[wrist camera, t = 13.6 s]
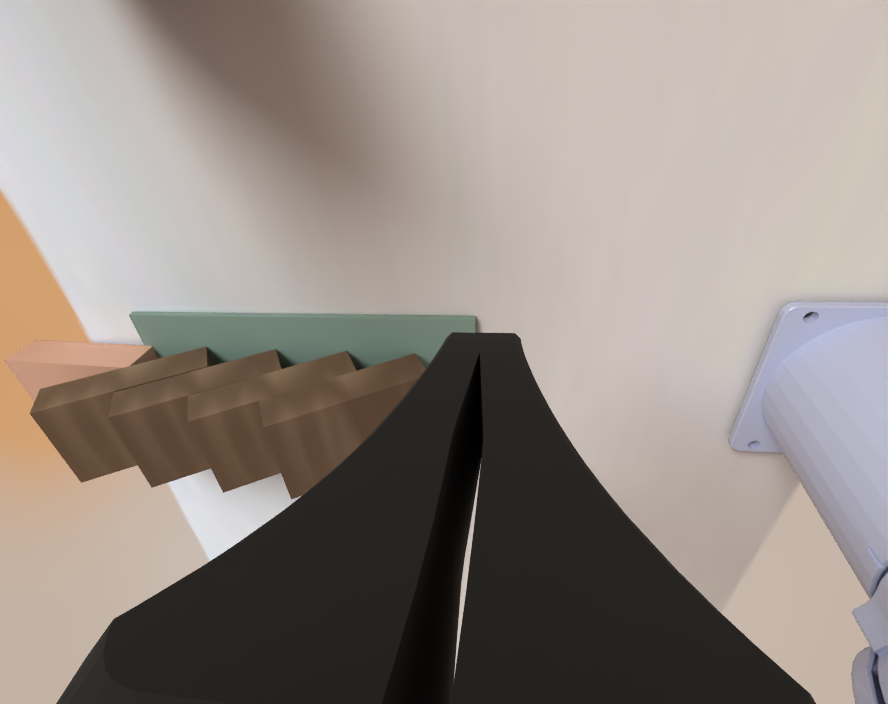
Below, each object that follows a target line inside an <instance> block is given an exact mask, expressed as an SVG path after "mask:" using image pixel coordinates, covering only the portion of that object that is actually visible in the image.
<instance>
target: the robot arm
mask: <svg viewBox="0 0 888 704" xmlns="http://www.w3.org/2000/svg"><path fill="white" fill-rule="evenodd" d="M809 312H813V313H812V315H811V316H809V317H806V318H803V317H804V316H805V315H806V314H807V313H809ZM752 441H754V442H752ZM728 442H729V444H730V446H731V447H732V449H734V450H737V451H753V452H774V453H784V455H785V457H786V458H787V460H788V462H789V463H790V465H791V467H792V469H793V470H794V472H795V474H796V475H797V477H798V479H799V480H800V482H801V484H802V485H803V487H804V489H805V490H806V492H807V494H808V495H809V497H810V499H811V501H812V502H813V504H814V506H815V507H816V509H817V511H818V512H819V514H820V516H821V517H822V519H823V521H824V522H825V524H826V526H827V527H828V529H829V531H830V533H831V534H832V536H833V538H834V539H835V541H836V542H837V544H838V546H839V548H840V549H841V551H842V553H843V554H844V556H845V558H846V559H847V561H848V563H849V565H850V566H851V568H852V570H853V571H854V573H855V574H856V576H857V578H858V580H859V581H860V583H861V585H862V586H863V588H864V590H865V591H866V593H867V595H868V597H869V598H870V600H869V601H867V602H866V603H865V604H863V605H861V606H860V607H858V608H856V609H854V610H853V611H852V613H853V615H854V617H855V619H856V621H857V623H858V625H859V626H860V628H861V630H862V632H863V633H864V635H865V637H866V639H867V641H868V642H869V644H870V647H867V648H865V649H863V650H862V651H861V652H859V653H858V654H857V655H856V657H855V659H854V661H853V666H852V673H851V675H852V686H853V693H854V697H855V704H888V302H791V303H789V304H787V305H785V306H784V307H783V308H781V310H780V311H779V313H778V316H777V318H776V321H775V323H774V326H773V328H772V331H771V333H770V336H769V338H768V341H767V343H766V346H765V348H764V351H763V353H762V356H761V358H760V361H759V363H758V366H757V368H756V371H755V373H754V376H753V378H752V381H751V383H750V386H749V389H748V391H747V394H746V396H745V399H744V401H743V404H742V406H741V409H740V411H739V414H738V416H737V419H736V421H735V424H734V426H733V429H732V431H731V434H730V436H729V439H728ZM481 458H482V459H481ZM480 464H481V468H480ZM479 470H480V478H479V488H478V497H477V506H476V515H475V524H474V533H473V541H472V549H471V557H470V565H469V573H468V581H467V590H466V597H465V605H464V612H463V619H462V627H461V634H460V641H459V649H458V656H457V664H456V671H455V678H454V670H455V657H456V643H457V630H458V617H459V605H460V592H461V580H462V573H463V565H464V557H465V552H466V546H467V540H468V534H469V528H470V522H471V517H472V511H473V505H474V499H475V493H476V487H477V482H478V476H479ZM453 684H454V685H453ZM57 704H816V703H815V701H814V699H813V698H812V696H811V695H810V693H809V692H807V691H806V690H805V689H804V688H803V687H802V686H801V685H800V684H798V683H797V682H796V681H795V680H794V679H792V677H790V676H789V675H788V674H787V673H786V672H785V671H784V670H783V669H781V668H780V667H779V666H778V665H777V664H776V663H775V662H774V661H772V660H771V659H770V658H769V657H768V656H767V655H766V654H765V653H763V652H762V651H761V650H760V649H759V648H758V647H757V646H756V645H754V644H753V643H752V642H751V641H750V640H749V639H748V638H747V637H746V636H745V635H744V634H743V633H742V632H740V631H739V630H738V629H737V628H736V627H735V626H734V625H733V624H732V623H731V622H730V621H729V620H728V619H727V618H725V617H724V616H723V615H722V614H721V613H720V612H719V611H718V610H717V609H716V608H715V607H714V606H713V605H712V604H711V603H710V602H709V601H708V600H707V599H706V598H705V597H704V596H703V595H702V594H701V593H700V592H699V591H698V590H697V589H696V588H695V587H694V586H693V585H692V584H691V583H690V582H689V581H688V580H687V579H686V578H684V577H683V576H682V575H681V574H680V573H679V572H678V571H677V570H676V569H675V567H674V566H673V565H672V564H671V563H670V562H669V561H668V560H667V559H666V558H665V557H664V556H663V554H662V553H661V552H660V551H659V550H658V549H657V548H656V547H655V546H654V545H653V544H652V542H651V541H650V540H649V539H648V538H647V537H646V536H645V535H644V534H643V533H642V532H641V531H640V529H639V528H638V527H637V526H636V525H635V524H634V523H633V522H632V521H631V520H630V519H629V517H628V516H627V515H626V514H625V513H624V512H623V511H622V509H621V508H620V507H619V506H618V504H617V503H616V502H615V501H614V500H613V498H612V497H611V496H610V495H609V493H608V492H607V491H606V490H605V488H604V487H603V486H602V485H601V483H600V482H599V481H598V479H597V478H596V477H595V476H594V474H593V473H592V472H591V470H590V469H589V468H588V466H587V465H586V464H585V462H584V461H583V459H582V458H581V457H580V455H579V454H578V452H577V451H576V449H575V448H574V446H573V445H572V443H571V442H570V440H569V439H568V437H567V436H566V434H565V432H564V431H563V429H562V428H561V426H560V425H559V423H558V421H557V420H556V418H555V416H554V414H553V413H552V411H551V409H550V408H549V406H548V404H547V402H546V400H545V398H544V396H543V394H542V393H541V391H540V389H539V387H538V385H537V383H536V381H535V379H534V377H533V374H532V372H531V370H530V367H529V365H528V363H527V360H526V357H525V354H524V351H523V348H522V344H521V339H520V338H519V337H518V336H517V335H516V334H515V333H465V332H452V333H451V334H450V335H449V336H448V337H447V338H446V339H445V341H444V343H443V344H442V346H441V347H440V349H439V351H438V352H437V354H436V355H435V356H434V358H433V359H432V361H431V362H430V364H429V365H428V366H427V368H426V369H425V371H424V372H423V373H422V375H421V376H420V377H419V378H418V380H417V381H416V382H415V384H414V385H413V386H412V387H411V389H410V390H409V391H408V392H407V394H406V395H405V396H404V397H403V399H402V400H401V401H400V402H399V403H398V404H397V406H396V407H395V408H394V409H393V410H392V411H391V412H390V413H389V415H388V416H387V417H386V418H385V419H384V420H383V421H382V422H381V423H380V425H379V426H378V427H377V428H376V429H375V430H374V431H373V432H372V433H371V434H370V435H369V436H368V437H367V438H366V439H365V440H364V441H363V442H362V443H361V444H360V445H359V446H358V447H357V448H356V449H355V450H354V451H353V452H352V453H351V454H350V455H349V456H348V457H347V458H346V459H344V460H343V461H342V462H341V463H340V464H339V465H338V466H337V467H336V468H335V469H334V470H332V471H331V472H330V473H329V474H328V475H326V476H325V477H324V478H323V479H322V480H321V481H319V482H318V483H317V484H316V485H315V486H313V487H312V488H311V489H310V490H309V491H307V492H306V493H305V494H304V495H303V496H301V497H300V498H299V499H298V500H296V501H295V502H294V503H293V504H291V505H290V506H289V507H287V508H286V509H285V510H283V511H282V512H281V513H279V514H278V515H277V516H275V517H274V518H272V519H271V520H270V521H268V522H267V523H265V524H264V525H263V526H261V527H260V528H258V529H257V530H256V531H254V532H253V533H251V534H250V535H249V536H247V537H246V538H244V539H243V540H241V541H240V542H239V543H237V544H236V545H234V546H233V547H231V548H230V549H228V550H227V551H225V552H224V553H222V554H221V555H219V556H218V557H216V558H215V559H213V560H212V561H210V562H208V563H207V564H205V565H204V566H202V567H201V568H199V569H197V570H196V571H194V572H192V573H191V574H189V575H187V576H186V577H184V578H182V579H181V580H179V581H177V582H176V583H174V584H172V585H171V586H169V587H168V588H166V589H164V590H162V591H161V592H159V593H158V594H156V595H154V596H153V597H151V598H149V599H147V600H146V601H144V602H143V603H141V604H139V605H138V606H136V607H134V608H132V609H131V610H129V611H127V612H126V613H124V614H122V615H120V616H119V617H117V618H115V619H114V620H113V621H112V622H111V624H110V625H109V626H108V628H107V629H106V631H105V632H104V633H103V635H102V636H101V638H100V639H99V641H98V642H97V643H96V645H95V646H94V647H93V649H92V650H91V652H90V653H89V654H88V656H87V657H86V659H85V660H84V662H83V663H82V665H81V666H80V668H79V670H78V671H77V673H76V674H75V676H74V677H73V679H72V680H71V682H70V683H69V685H68V686H67V688H66V690H65V691H64V693H63V694H62V696H61V697H60V699H59V700H58V702H57Z"/></svg>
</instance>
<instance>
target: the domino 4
mask: <svg viewBox="0 0 888 704" xmlns="http://www.w3.org/2000/svg"><path fill="white" fill-rule="evenodd" d="M424 371H425V367H424V366H423V364H422V363H421V361H420V360H419V358H418V357H417V356H416V354H415V353H414V354H411V355H407V356H404V357H401V358H397V359H394V360H391V361H387V362H384V363H381V364H377V365H374V366H371V367H367V368H364V369H361V370H358V371H354V372H351V373H348V374H344V375H341V376H338V377H334V378H331V379H328V380H324V381H321V382H318V383H314V384H311V385H308V386H304V387H301V388H298V389H294V390H291V391H288V392H285V393H281V394H278V395H275V396H271V397H268V398H265V399H261V400H259V405H260V411H261V417H262V422H263V428H264V430H265V433H266V435H267V438H268V440H269V443H270V446H271V448H272V451H273V453H274V456H275V458H276V461H277V463H278V466H279V469H280V471H281V474H282V476H283V479H284V481H285V484H286V486H287V489H288V492H289V494H290V497H291V499H294V498H296V497H299V496H302V495H304V494H305V493H306V492H307V491H309V490H310V489H311V488H312V487H313V486H315V485H316V484H317V483H318V482H319V481H321V480H322V479H323V478H324V477H325V476H326V475H328V474H329V473H330V472H331V471H332V470H334V469H335V468H336V467H337V466H338V465H339V464H340V463H341V462H342V461H343V460H344V459H346V458H347V457H348V456H349V455H350V454H351V453H352V452H353V451H354V450H355V449H356V448H357V447H358V446H359V445H360V444H361V443H362V442H363V441H364V440H365V439H366V438H367V437H368V436H369V435H370V434H371V433H372V432H373V431H374V430H375V429H376V428H377V427H378V426H379V425H380V423H381V422H382V421H383V420H384V419H385V418H386V417H387V416H388V415H389V413H390V412H391V411H392V410H393V409H394V408H395V407H396V406H397V404H398V403H399V402H400V401H401V400H402V399H403V397H404V396H405V395H406V394H407V392H408V391H409V390H410V389H411V387H412V386H413V385H414V384H415V382H416V381H417V380H418V378H419V377H420V376H421V375H422V373H423V372H424Z"/></svg>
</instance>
